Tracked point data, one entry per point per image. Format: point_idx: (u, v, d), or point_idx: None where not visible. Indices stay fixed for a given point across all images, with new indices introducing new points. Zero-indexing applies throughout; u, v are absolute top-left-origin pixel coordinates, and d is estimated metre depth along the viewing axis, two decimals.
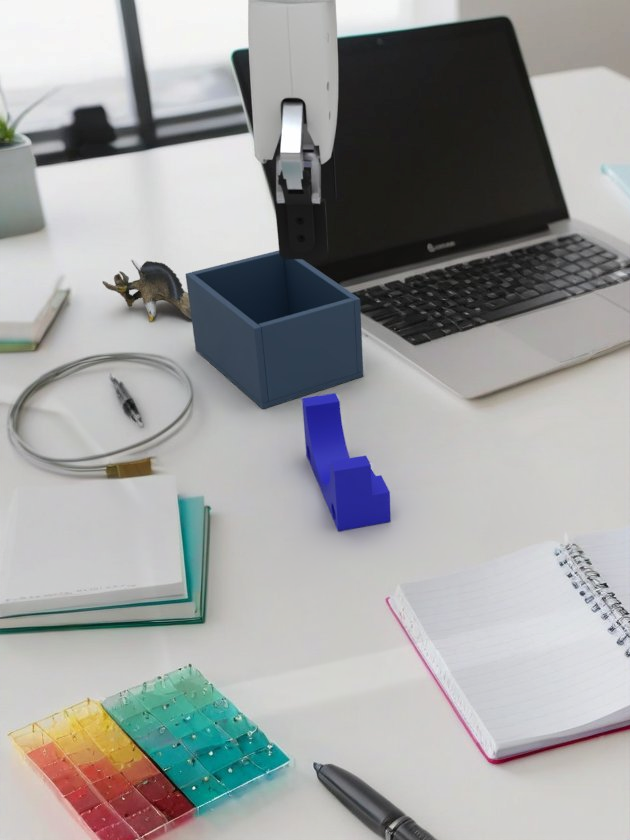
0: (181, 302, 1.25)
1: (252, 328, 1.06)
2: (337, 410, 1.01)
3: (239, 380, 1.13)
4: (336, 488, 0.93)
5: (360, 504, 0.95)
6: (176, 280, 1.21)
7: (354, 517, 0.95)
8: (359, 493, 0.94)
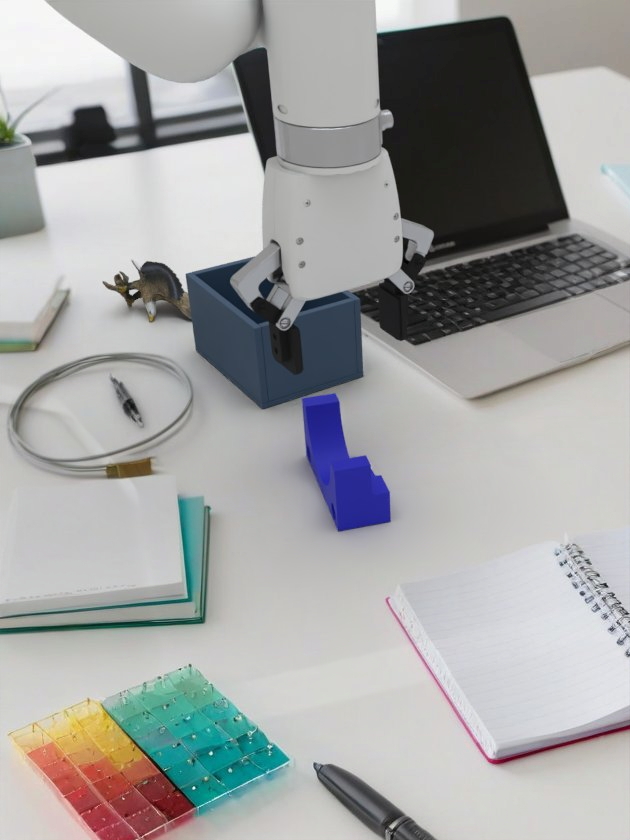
0: (181, 302, 1.25)
1: (252, 328, 1.06)
2: (337, 410, 1.01)
3: (239, 380, 1.13)
4: (336, 488, 0.93)
5: (360, 504, 0.95)
6: (176, 280, 1.21)
7: (354, 517, 0.95)
8: (359, 493, 0.94)
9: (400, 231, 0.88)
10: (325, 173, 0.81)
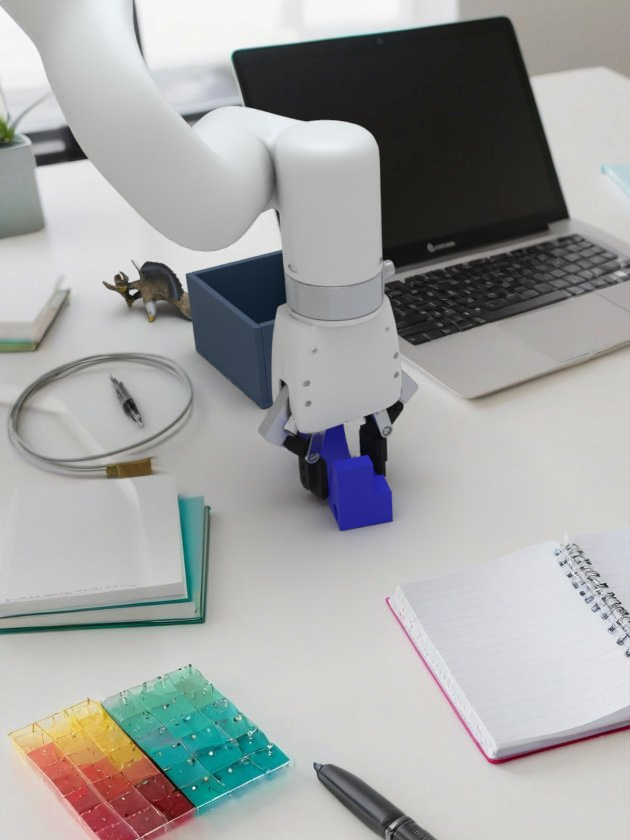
0: (181, 302, 1.25)
1: (252, 328, 1.06)
2: None
3: (239, 380, 1.13)
4: (338, 488, 0.93)
5: (362, 504, 0.95)
6: (176, 280, 1.21)
7: (356, 517, 0.95)
8: (362, 493, 0.94)
9: (399, 368, 0.95)
10: (331, 325, 0.87)
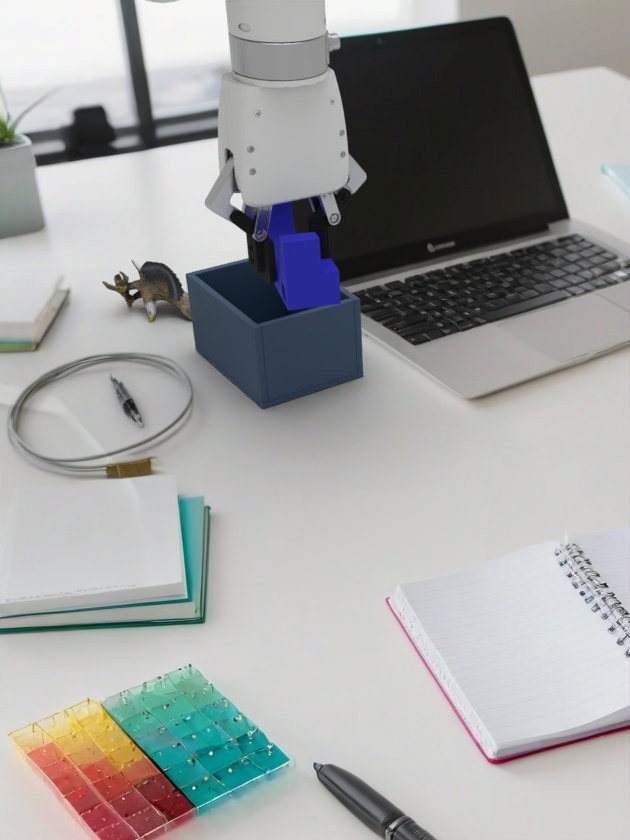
0: (181, 302, 1.25)
1: (252, 328, 1.06)
2: (288, 203, 1.02)
3: (239, 380, 1.13)
4: (285, 262, 0.94)
5: (309, 282, 0.96)
6: (176, 280, 1.21)
7: (304, 296, 0.97)
8: (309, 270, 0.95)
9: (346, 148, 0.96)
10: (274, 85, 0.88)
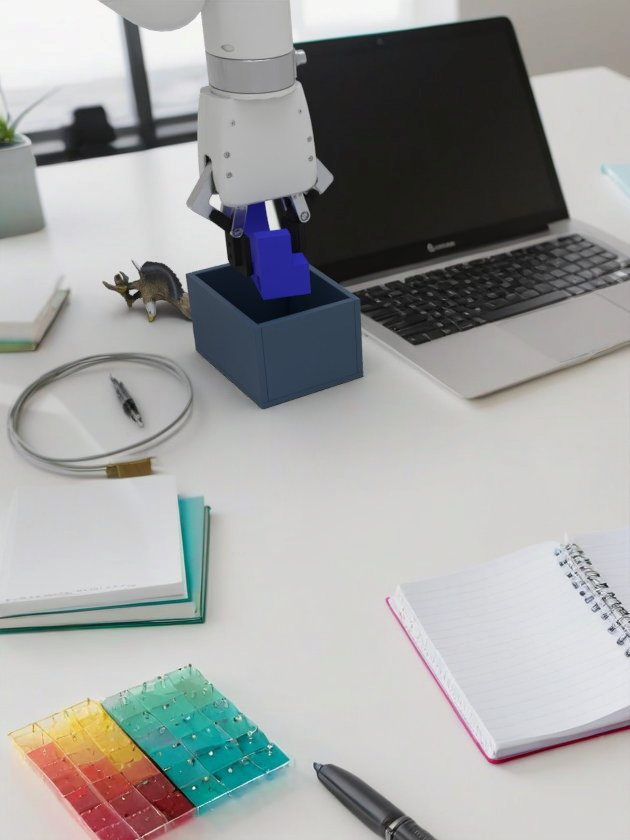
0: (181, 302, 1.25)
1: (252, 328, 1.06)
2: (262, 203, 1.13)
3: (239, 380, 1.13)
4: (260, 256, 1.05)
5: (282, 274, 1.06)
6: (176, 280, 1.21)
7: (277, 286, 1.07)
8: (281, 262, 1.06)
9: (313, 152, 1.07)
10: (246, 98, 0.99)
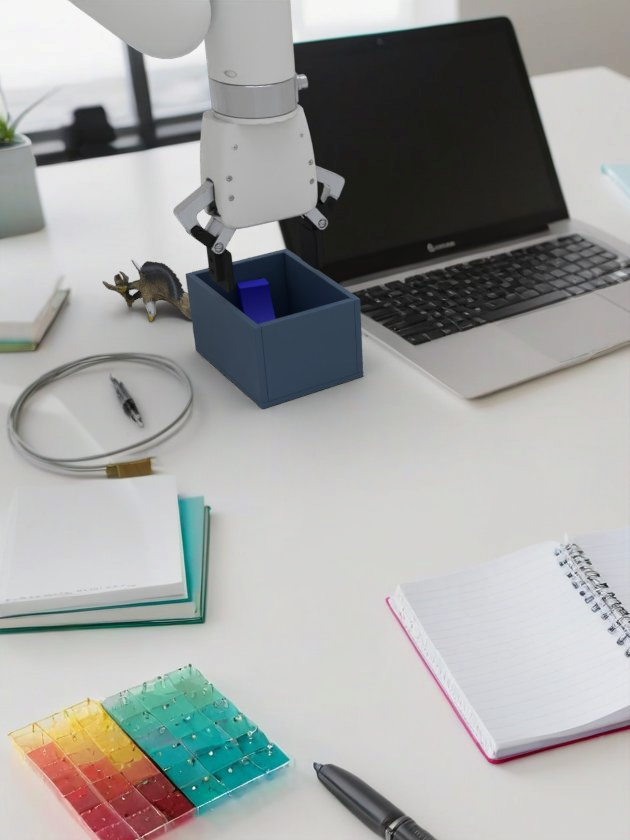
0: (181, 302, 1.25)
1: (252, 328, 1.06)
2: (267, 292, 1.18)
3: (239, 380, 1.13)
4: None
5: None
6: (176, 280, 1.21)
7: None
8: None
9: (314, 175, 1.08)
10: (249, 123, 1.00)
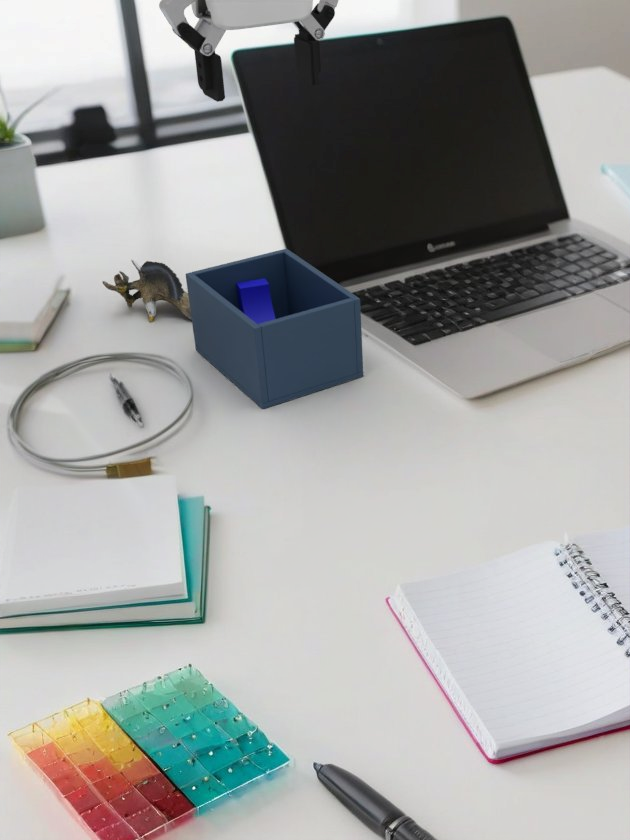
0: (181, 302, 1.25)
1: (252, 328, 1.06)
2: (267, 292, 1.18)
3: (239, 380, 1.13)
4: None
5: None
6: (176, 280, 1.21)
7: None
8: None
9: None
10: None
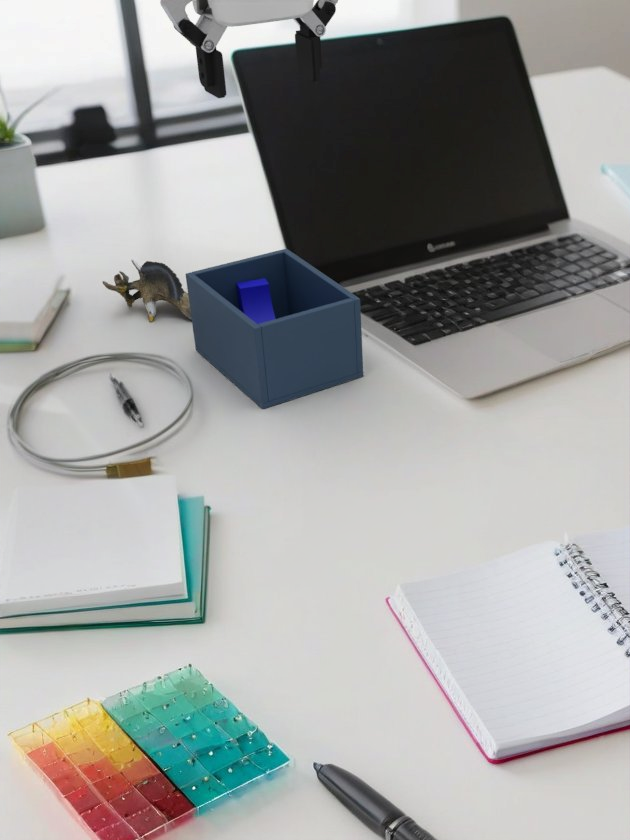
0: (181, 302, 1.25)
1: (252, 328, 1.06)
2: (267, 292, 1.18)
3: (239, 380, 1.13)
4: None
5: None
6: (176, 280, 1.21)
7: None
8: None
9: None
10: None
